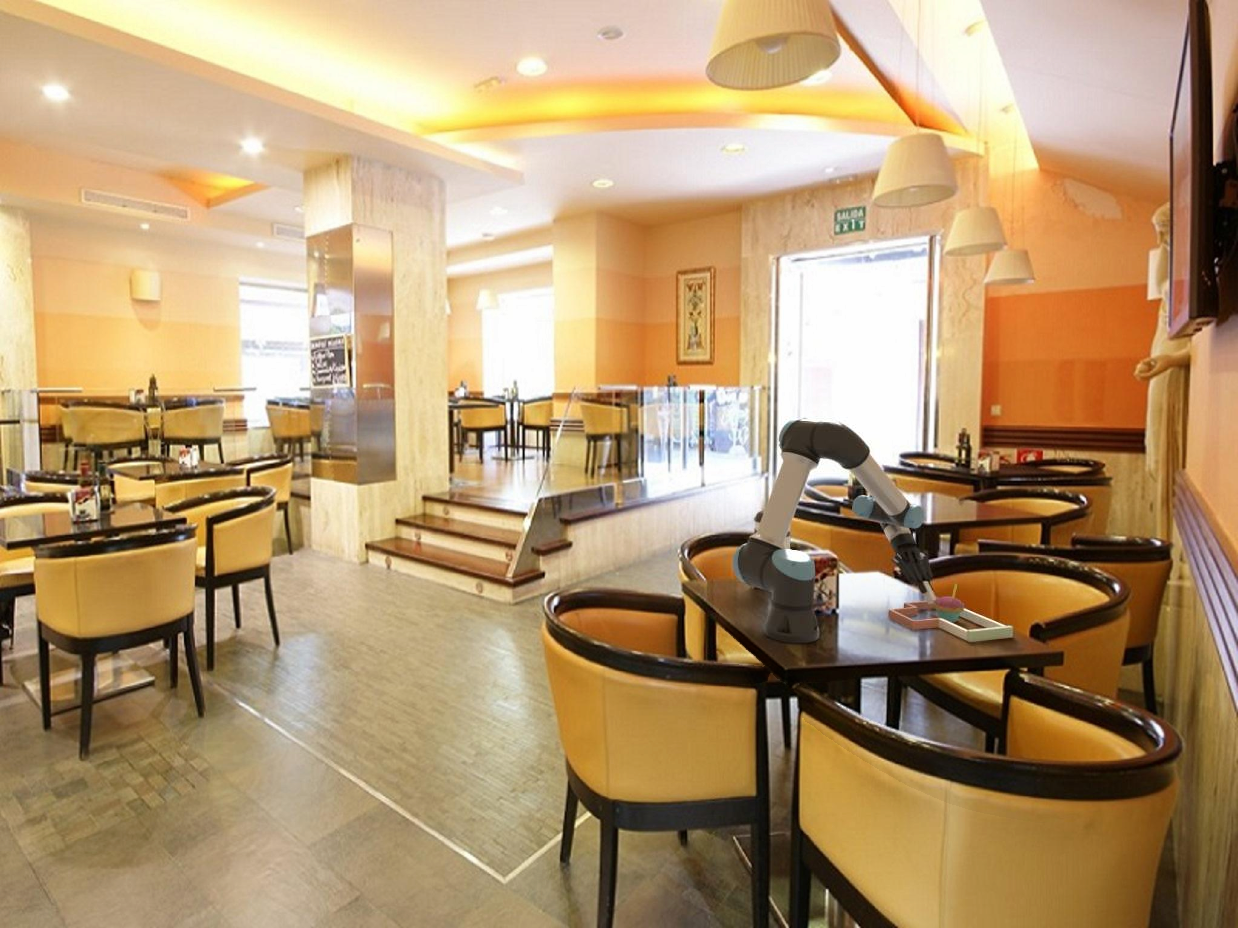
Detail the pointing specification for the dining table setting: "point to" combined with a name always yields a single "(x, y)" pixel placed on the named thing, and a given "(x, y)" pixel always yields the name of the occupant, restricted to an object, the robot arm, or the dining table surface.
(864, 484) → the robot arm
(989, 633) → the track
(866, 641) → the dining table surface
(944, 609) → the cupcake
